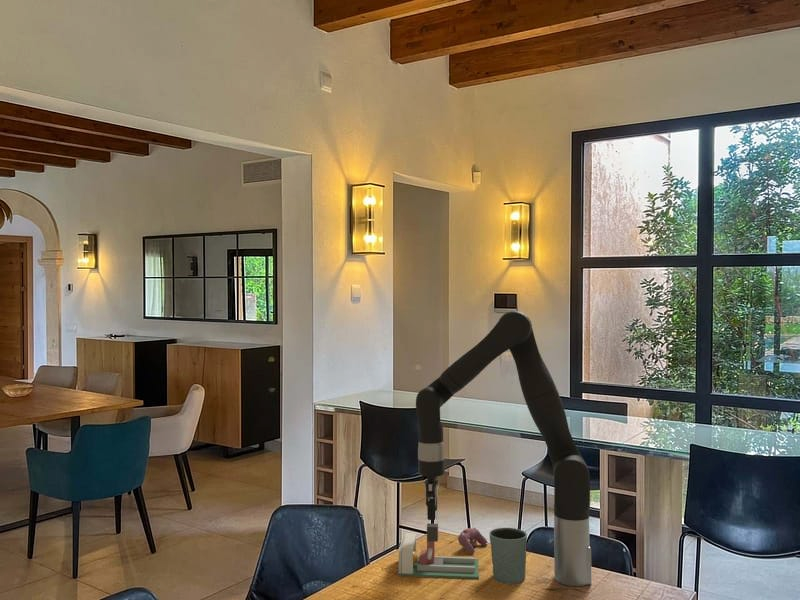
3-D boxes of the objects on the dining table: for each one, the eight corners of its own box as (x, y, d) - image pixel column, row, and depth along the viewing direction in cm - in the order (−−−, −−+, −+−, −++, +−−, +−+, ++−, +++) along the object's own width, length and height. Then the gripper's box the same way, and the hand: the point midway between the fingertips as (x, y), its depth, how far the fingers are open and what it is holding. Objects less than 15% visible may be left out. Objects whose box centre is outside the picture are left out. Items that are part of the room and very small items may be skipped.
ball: (401, 552, 189) (408, 564, 188) (400, 557, 185) (407, 570, 184) (413, 545, 188) (420, 558, 188) (412, 550, 184) (419, 563, 184)
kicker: (444, 556, 192) (444, 518, 192) (442, 575, 178) (442, 533, 179) (422, 555, 193) (421, 517, 193) (418, 574, 179) (418, 533, 179)
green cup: (527, 586, 173) (526, 540, 173) (488, 583, 175) (488, 538, 175) (527, 571, 183) (527, 528, 183) (490, 569, 185) (490, 526, 185)
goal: (416, 557, 192) (416, 533, 192) (412, 573, 180) (412, 548, 180) (403, 556, 193) (403, 532, 193) (398, 573, 180) (398, 547, 180)
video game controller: (478, 548, 206) (469, 526, 207) (489, 544, 203) (480, 522, 205) (462, 558, 197) (453, 535, 199) (474, 554, 195) (464, 530, 197)
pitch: (478, 561, 191) (478, 554, 191) (478, 579, 178) (478, 571, 178) (402, 558, 193) (402, 551, 193) (398, 575, 180) (398, 568, 180)
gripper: (443, 463, 179) (444, 523, 178) (445, 452, 193) (446, 507, 193) (416, 463, 180) (417, 522, 179) (420, 452, 194) (421, 507, 193)
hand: (432, 515), depth 186 cm, fingers open, 8 cm apart
